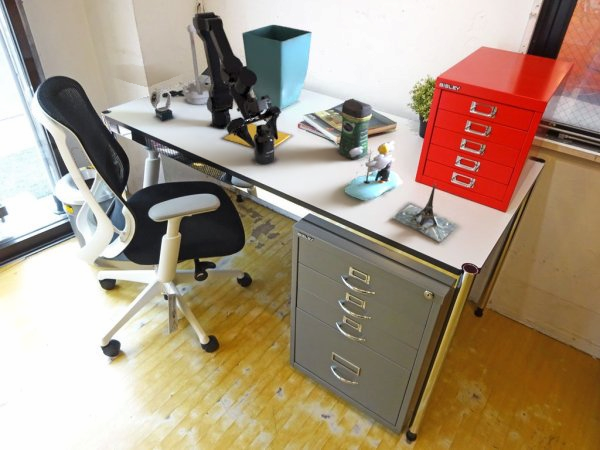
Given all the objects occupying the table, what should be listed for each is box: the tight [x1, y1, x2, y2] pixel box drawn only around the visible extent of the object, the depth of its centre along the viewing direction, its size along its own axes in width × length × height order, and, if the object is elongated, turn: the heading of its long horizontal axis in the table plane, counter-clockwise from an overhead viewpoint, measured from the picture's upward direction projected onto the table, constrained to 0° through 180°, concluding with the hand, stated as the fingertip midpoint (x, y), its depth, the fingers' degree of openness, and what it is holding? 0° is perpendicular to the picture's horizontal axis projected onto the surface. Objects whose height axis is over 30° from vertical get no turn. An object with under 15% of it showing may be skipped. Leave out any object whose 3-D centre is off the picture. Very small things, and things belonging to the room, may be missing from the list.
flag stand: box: [181, 24, 211, 105], centre depth 180 cm, size 13×13×30 cm
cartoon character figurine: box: [344, 140, 403, 201], centre depth 130 cm, size 20×11×15 cm, turn 126°
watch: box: [149, 88, 174, 122], centre depth 170 cm, size 6×8×11 cm
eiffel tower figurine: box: [392, 181, 458, 243], centre depth 117 cm, size 15×10×13 cm
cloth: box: [224, 123, 291, 148], centre depth 161 cm, size 19×15×1 cm
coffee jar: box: [338, 98, 373, 160], centre depth 147 cm, size 10×8×19 cm
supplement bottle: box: [253, 123, 276, 166], centre depth 144 cm, size 7×7×12 cm
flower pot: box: [241, 24, 313, 110], centre depth 180 cm, size 20×20×28 cm
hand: (266, 143), depth 143 cm, fingers open, 9 cm apart
